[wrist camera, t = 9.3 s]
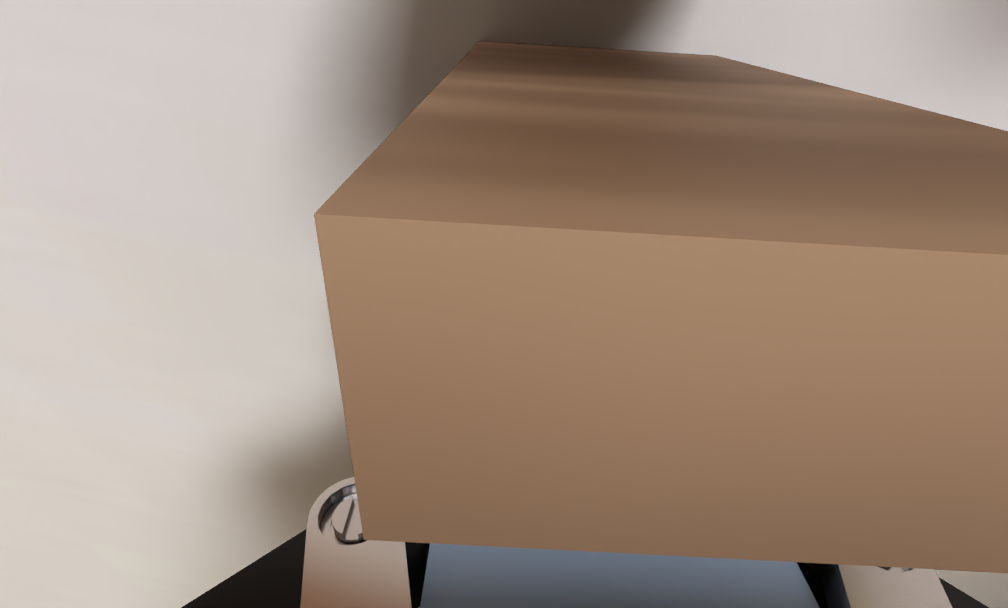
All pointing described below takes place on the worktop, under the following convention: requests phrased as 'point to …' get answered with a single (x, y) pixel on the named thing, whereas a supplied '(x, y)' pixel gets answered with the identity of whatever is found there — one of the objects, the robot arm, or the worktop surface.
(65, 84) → the worktop surface
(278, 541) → the worktop surface
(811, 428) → the domino
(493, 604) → the blue domino
